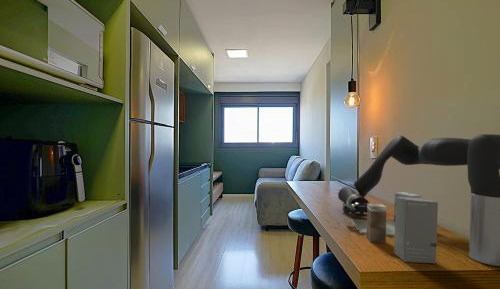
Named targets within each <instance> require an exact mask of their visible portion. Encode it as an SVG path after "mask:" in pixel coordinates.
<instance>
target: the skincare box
mask: <svg viewBox="0 0 500 289" xmlns="http://www.w3.org/2000/svg"><path fill="white" fill-rule="evenodd" d="M438 203H439V202H438V201H436V200H431V199H426V198H421V199H419V198H408V197H396V214H395V222H394V223H395V236H393V237H394V239H393V241H394V242H393V243H394V244H393V254H394V255H395V256H397V257H398V258H399V259H400V260H402V261H403V262H404V263H417V264H418V263H419V264H436V263H437V245H438V244H437V240H438V235H437V234H438V212H439V211H438V209H439V207H438V206H439V204H438Z"/></svg>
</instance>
